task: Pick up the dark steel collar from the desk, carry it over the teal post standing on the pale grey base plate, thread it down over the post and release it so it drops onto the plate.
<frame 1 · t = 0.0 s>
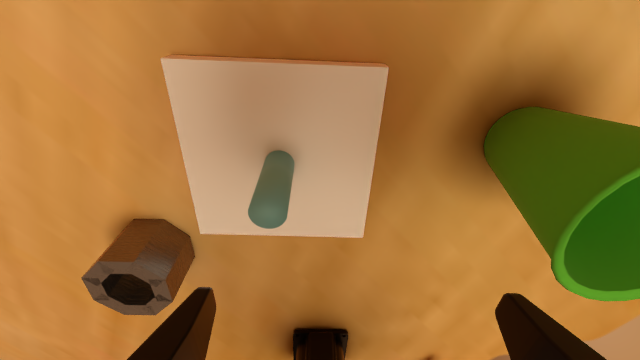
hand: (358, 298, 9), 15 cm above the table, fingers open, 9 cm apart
steel collar: (158, 245, 27), on the table
post block: (281, 155, 23), on the table
cup: (515, 137, 22), on the table
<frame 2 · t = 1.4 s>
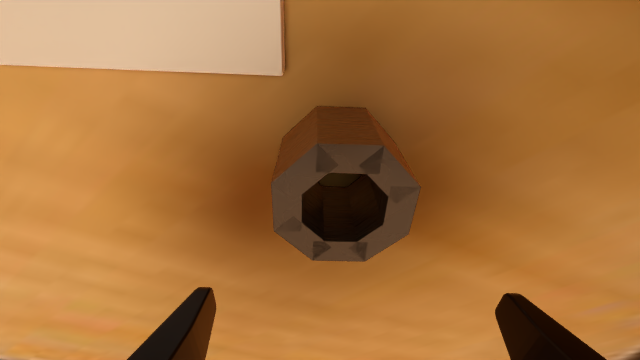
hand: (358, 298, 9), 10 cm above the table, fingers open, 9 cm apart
steel collar: (337, 159, 17), on the table
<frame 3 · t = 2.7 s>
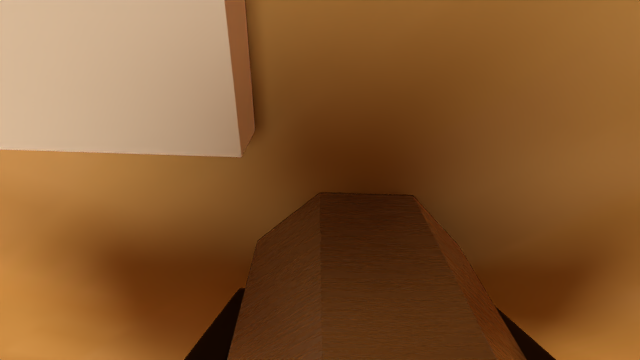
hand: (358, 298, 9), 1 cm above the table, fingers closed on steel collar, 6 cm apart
steel collar: (354, 272, 10), on the table, touching gripper
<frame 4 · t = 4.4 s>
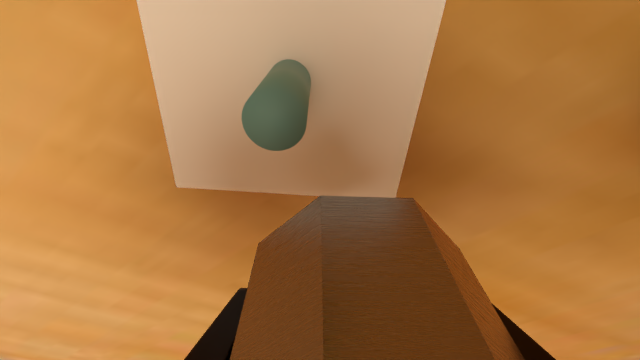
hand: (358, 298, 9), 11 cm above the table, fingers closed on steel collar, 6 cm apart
steel collar: (355, 274, 10), point 10 cm above the table, touching gripper
post block: (292, 76, 16), on the table
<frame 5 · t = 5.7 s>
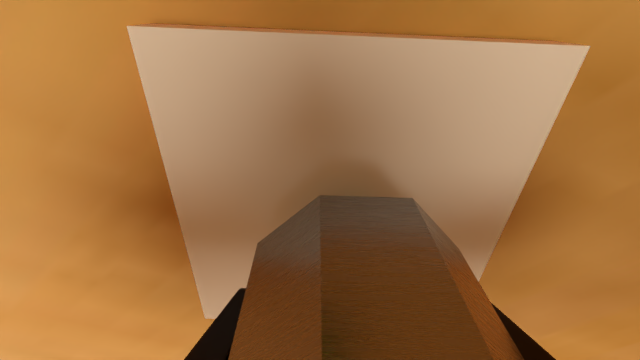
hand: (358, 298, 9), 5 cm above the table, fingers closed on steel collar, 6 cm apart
steel collar: (354, 274, 10), point 4 cm above the table, touching gripper
post block: (341, 199, 14), on the table
when the fingers open (4 cm above the table, at t = 6.5 s): steel collar drops 1 cm, resting on post block.
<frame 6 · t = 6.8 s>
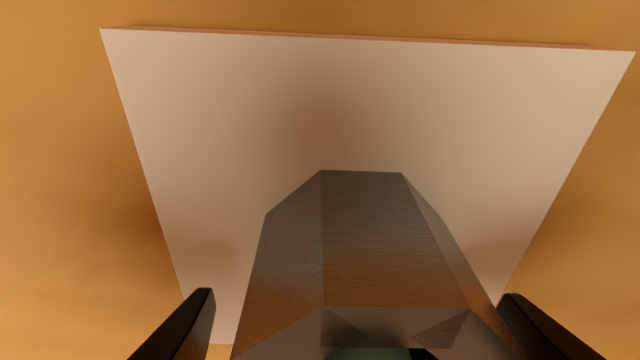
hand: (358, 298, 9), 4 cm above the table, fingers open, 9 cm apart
steel collar: (351, 243, 11), point 1 cm above the table, touching post block
post block: (346, 217, 12), on the table
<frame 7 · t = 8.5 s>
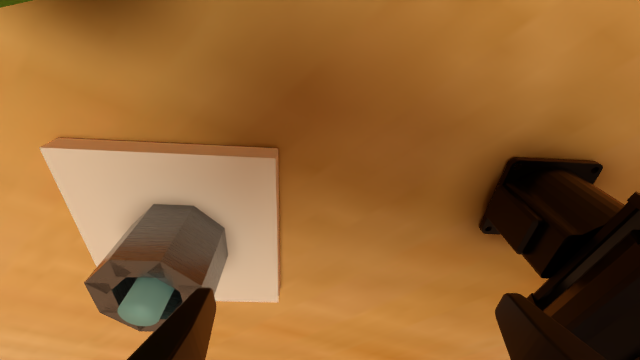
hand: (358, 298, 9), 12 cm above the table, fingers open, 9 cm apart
steel collar: (182, 240, 21), point 1 cm above the table, touching post block
post block: (188, 226, 22), on the table
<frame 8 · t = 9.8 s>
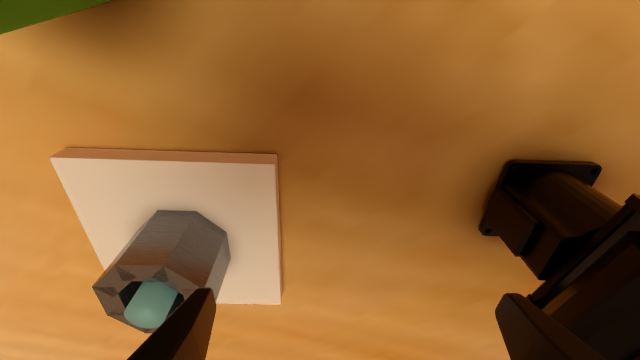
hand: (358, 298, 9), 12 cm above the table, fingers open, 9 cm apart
steel collar: (186, 244, 22), point 1 cm above the table, touching post block
post block: (192, 230, 23), on the table
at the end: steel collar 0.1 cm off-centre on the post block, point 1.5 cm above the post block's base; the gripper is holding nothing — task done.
